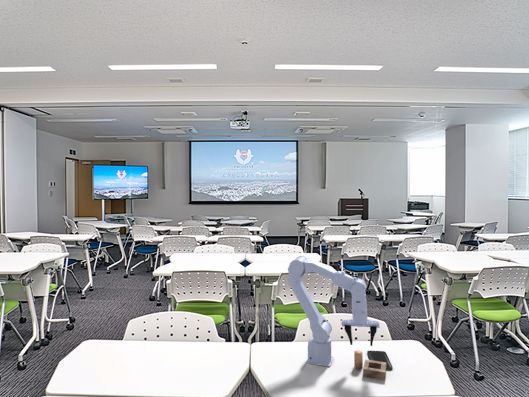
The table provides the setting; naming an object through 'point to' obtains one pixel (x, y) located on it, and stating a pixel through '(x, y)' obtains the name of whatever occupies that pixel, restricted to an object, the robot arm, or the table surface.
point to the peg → (358, 359)
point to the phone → (380, 358)
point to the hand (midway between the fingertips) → (361, 344)
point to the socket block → (374, 369)
